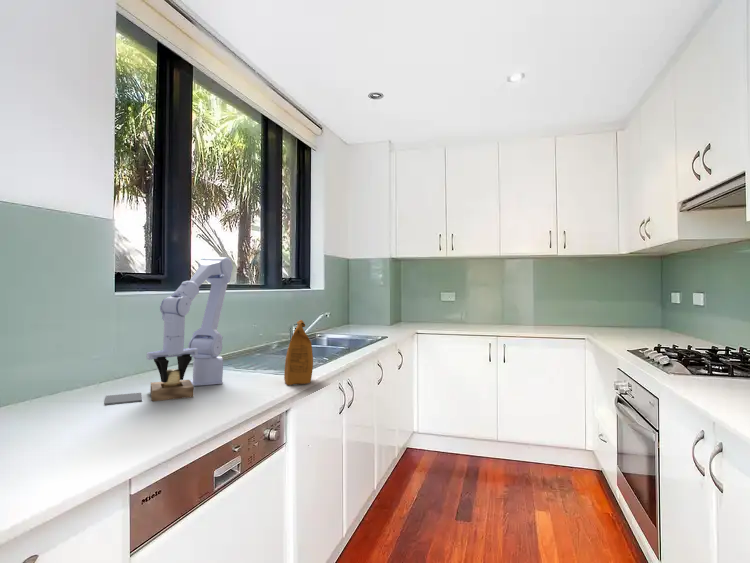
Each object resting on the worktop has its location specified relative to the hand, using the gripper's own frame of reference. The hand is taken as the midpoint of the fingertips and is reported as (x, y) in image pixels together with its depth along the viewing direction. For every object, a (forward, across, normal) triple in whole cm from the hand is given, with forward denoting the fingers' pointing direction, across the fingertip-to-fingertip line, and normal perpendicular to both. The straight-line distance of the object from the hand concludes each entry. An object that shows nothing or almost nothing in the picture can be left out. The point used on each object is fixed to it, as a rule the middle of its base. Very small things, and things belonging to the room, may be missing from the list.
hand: (172, 380), depth 127 cm
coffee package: (+5, -39, +12) cm, 41 cm away
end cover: (+4, 0, 0) cm, 4 cm away
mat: (+4, +12, -4) cm, 13 cm away
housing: (+4, 0, 0) cm, 4 cm away
